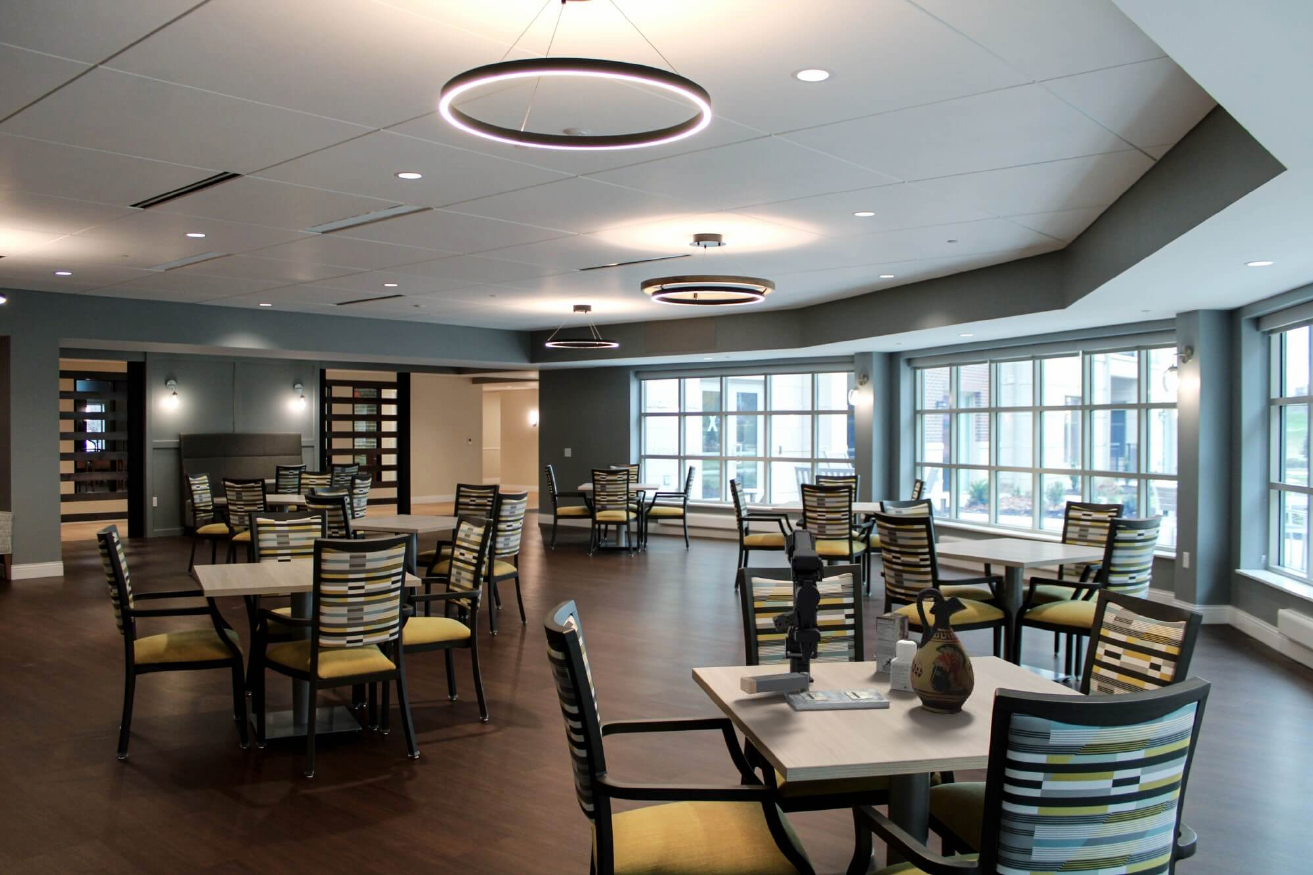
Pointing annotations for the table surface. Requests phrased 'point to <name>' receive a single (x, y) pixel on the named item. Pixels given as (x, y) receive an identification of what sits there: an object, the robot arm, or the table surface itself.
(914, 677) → the ceramic jug
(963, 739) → the table surface
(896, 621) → the coffee box
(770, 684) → the swing bar
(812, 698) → the panel
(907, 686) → the container
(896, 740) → the table surface
